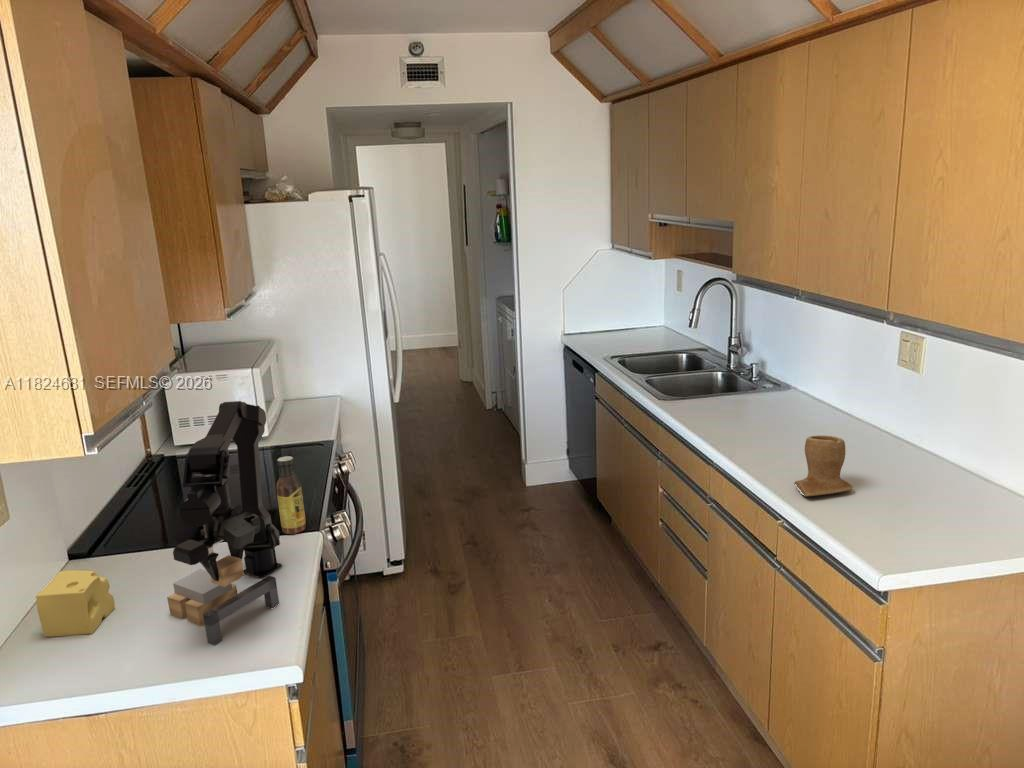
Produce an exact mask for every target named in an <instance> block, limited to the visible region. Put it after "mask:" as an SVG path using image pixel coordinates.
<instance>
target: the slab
mask: <svg viewBox="0 0 1024 768" xmlns="http://www.w3.org/2000/svg"><path fill="white" fill-rule="evenodd" d="M232 584H233V583H231V584H229V585H227V586H226V587H223V586H220V585H217V584H214V583H212V582H211V576H210V574H209V573H208V572H207V570H206V569H202V568H200V569H198V570H196V571H193V572H191V573H190V574H187V575H186V576H184V577H182V578H180V579H177V580H176V581H175V582H173V583H172V585H173V589H174V590H173V591H174V592H173V593H175V594H178V595H181V596H183V597H186V598H189V599H191V600H194V601H197V602H199V603H202V604H207V603H208V602H210V601H212V600H214V599H215V598H217V597H219V596H221V595H223V594H224V593H226V592H228V591H230V590H231V589H232Z"/></svg>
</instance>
